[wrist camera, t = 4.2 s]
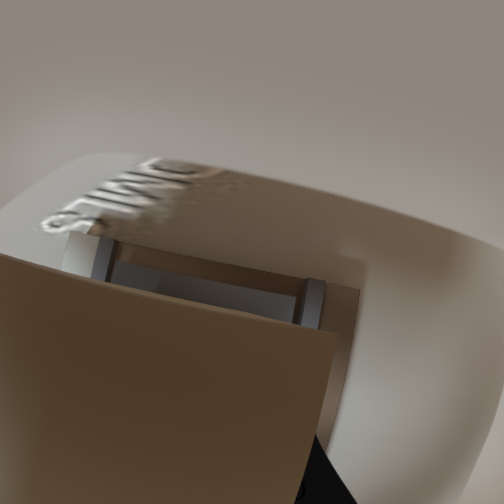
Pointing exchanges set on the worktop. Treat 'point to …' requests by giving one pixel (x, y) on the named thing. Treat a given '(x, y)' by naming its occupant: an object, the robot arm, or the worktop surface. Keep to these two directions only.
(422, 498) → the worktop surface
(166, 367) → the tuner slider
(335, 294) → the board
